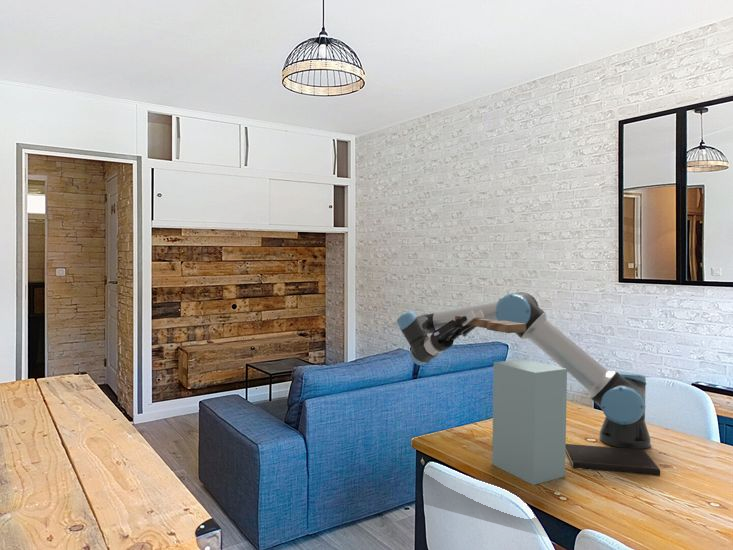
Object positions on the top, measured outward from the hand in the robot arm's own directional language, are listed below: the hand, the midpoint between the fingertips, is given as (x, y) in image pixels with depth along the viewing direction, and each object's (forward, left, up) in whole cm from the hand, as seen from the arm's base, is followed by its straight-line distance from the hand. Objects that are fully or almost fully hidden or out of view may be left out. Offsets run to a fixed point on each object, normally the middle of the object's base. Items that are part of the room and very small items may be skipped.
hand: (477, 313), depth 169 cm
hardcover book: (-38, -9, -44) cm, 59 cm away
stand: (-19, +11, -43) cm, 48 cm away
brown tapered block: (-3, +2, -4) cm, 6 cm away
